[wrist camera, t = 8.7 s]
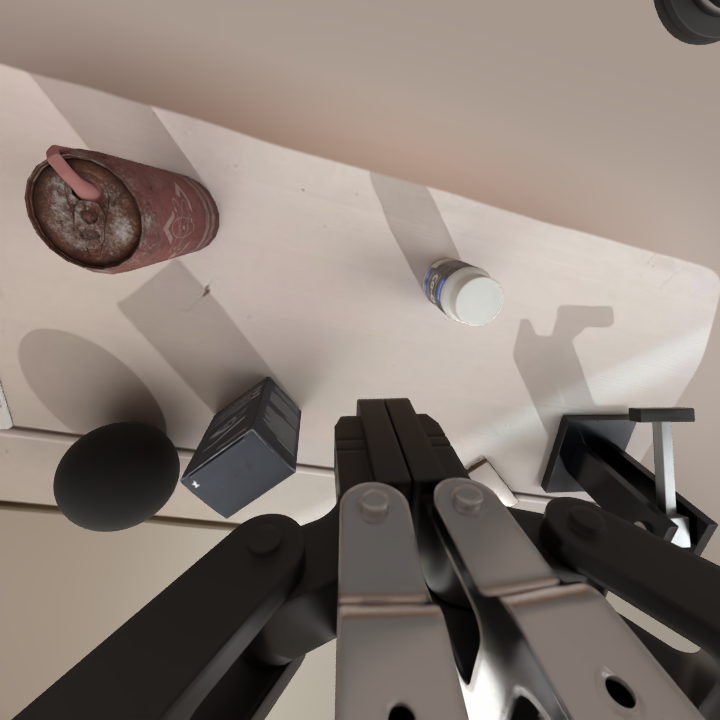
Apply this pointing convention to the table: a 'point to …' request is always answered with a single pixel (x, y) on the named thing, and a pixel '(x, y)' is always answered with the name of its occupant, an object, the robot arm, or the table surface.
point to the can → (116, 211)
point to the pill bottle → (463, 292)
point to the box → (245, 450)
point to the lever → (666, 462)
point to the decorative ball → (116, 476)
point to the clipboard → (4, 412)
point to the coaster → (492, 482)
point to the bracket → (616, 477)
